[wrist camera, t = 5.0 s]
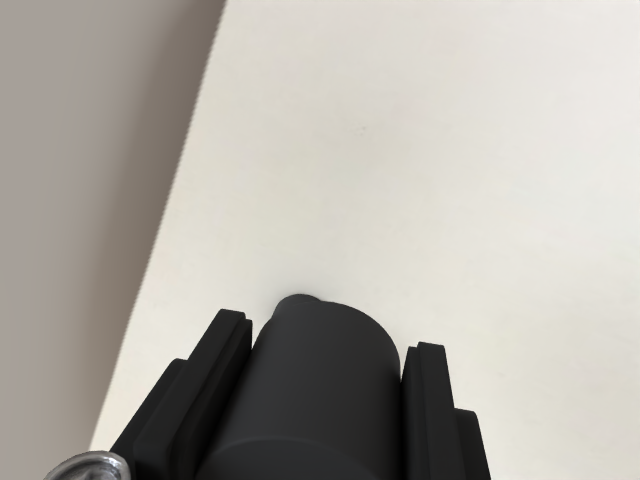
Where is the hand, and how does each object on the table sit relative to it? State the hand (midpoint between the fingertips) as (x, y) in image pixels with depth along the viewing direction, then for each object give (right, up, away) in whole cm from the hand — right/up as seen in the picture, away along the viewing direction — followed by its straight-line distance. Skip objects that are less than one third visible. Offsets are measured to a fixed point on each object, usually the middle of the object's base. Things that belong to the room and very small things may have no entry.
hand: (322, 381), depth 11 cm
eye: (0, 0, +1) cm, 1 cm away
